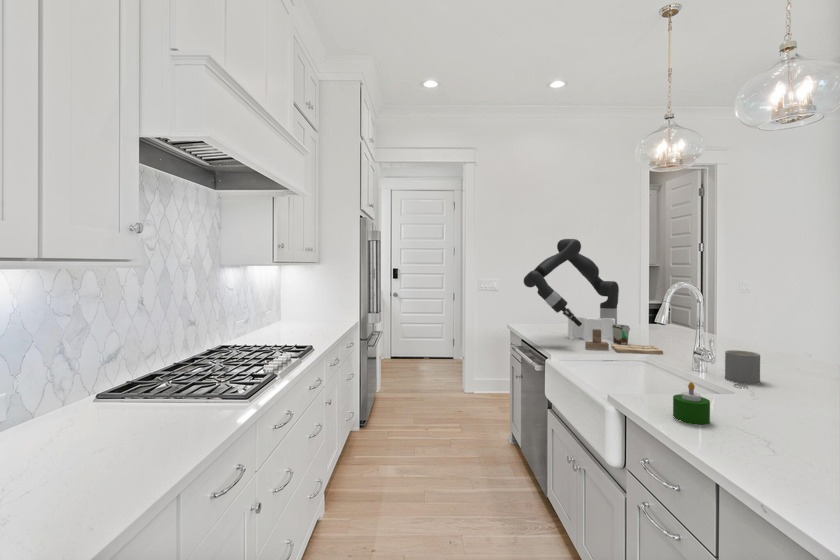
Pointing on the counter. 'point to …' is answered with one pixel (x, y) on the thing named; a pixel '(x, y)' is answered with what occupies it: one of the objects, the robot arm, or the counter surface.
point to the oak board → (636, 349)
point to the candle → (691, 407)
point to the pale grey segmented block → (591, 328)
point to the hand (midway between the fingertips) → (579, 324)
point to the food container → (620, 334)
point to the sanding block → (597, 342)
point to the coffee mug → (742, 366)
